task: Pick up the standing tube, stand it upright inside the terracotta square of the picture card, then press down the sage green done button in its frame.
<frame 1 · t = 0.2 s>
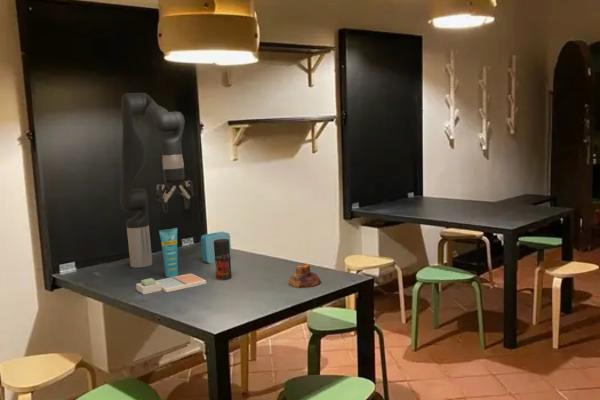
hand: (176, 210, 234), 29 cm above the table, tool pointing down, fingers open, 8 cm apart
picture card: (179, 283, 242), on the table
deodorant: (224, 278, 247), on the table
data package: (217, 261, 276), on the table
bell: (304, 284, 234), on the table
button frame: (149, 290, 235), on the table
tube: (172, 276, 254), on the table
done button: (148, 283, 235), point 3 cm above the table, slide at 0.0 cm
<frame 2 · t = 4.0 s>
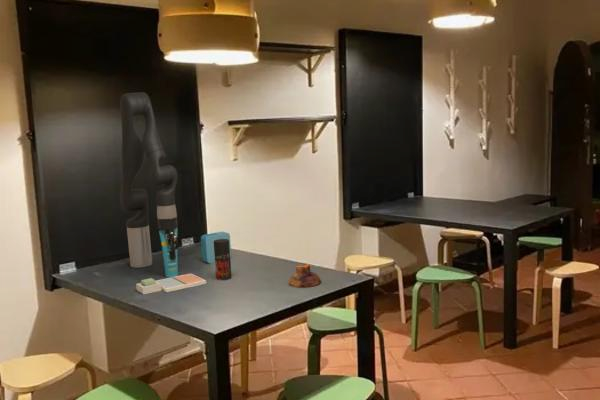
hand: (170, 258, 253), 7 cm above the table, tool pointing down, fingers closed on tube, 4 cm apart
tube: (172, 276, 254), on the table, touching gripper
everything else where it was.
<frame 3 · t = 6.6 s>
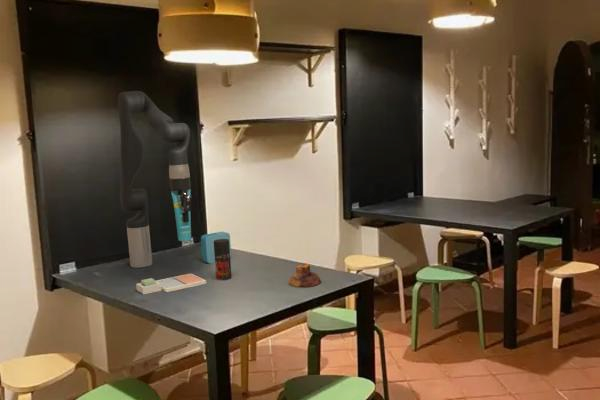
hand: (183, 221, 240), 24 cm above the table, tool pointing down, fingers closed on tube, 4 cm apart
tube: (185, 240, 241), point 16 cm above the table, touching gripper
everything else where it was.
when the fingers open (10 cm above the table, at t = 9.6 s): tube drops 1 cm, resting on picture card.
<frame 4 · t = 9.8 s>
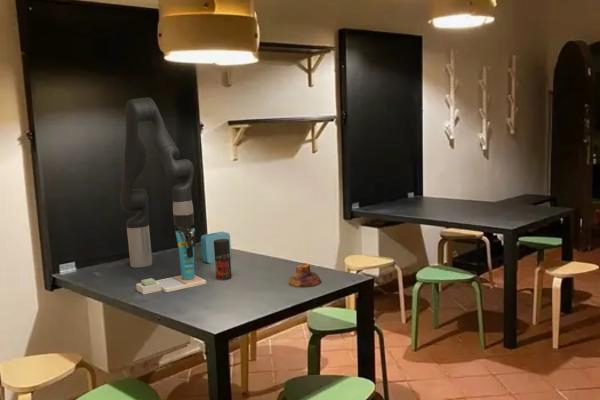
hand: (186, 255, 242), 10 cm above the table, tool pointing down, fingers open, 6 cm apart
tube: (188, 279, 244), point 1 cm above the table, touching picture card
everything else where it was.
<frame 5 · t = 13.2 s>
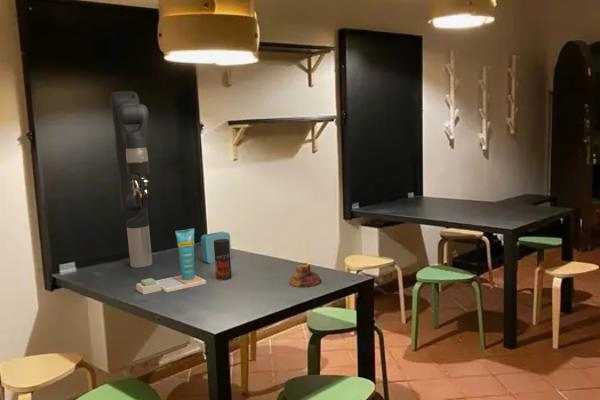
hand: (141, 206, 230), 31 cm above the table, tool pointing down, fingers open, 5 cm apart
nothing on the table moved.
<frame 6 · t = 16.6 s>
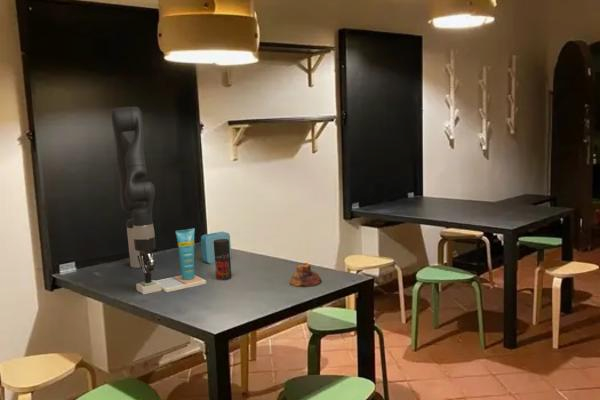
hand: (148, 282, 235), 3 cm above the table, tool pointing down, fingers closed
done button: (148, 285, 235), point 2 cm above the table, slide at 0.8 cm, touching gripper
everything else where it was.
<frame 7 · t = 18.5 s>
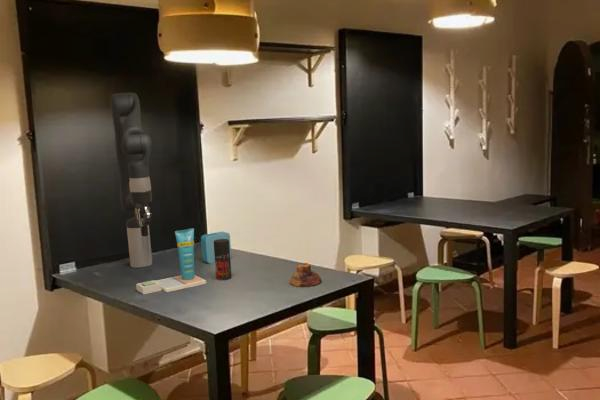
hand: (144, 235, 234), 20 cm above the table, tool pointing down, fingers closed
done button: (148, 286, 235), point 2 cm above the table, slide at 1.1 cm
everything else where it was.
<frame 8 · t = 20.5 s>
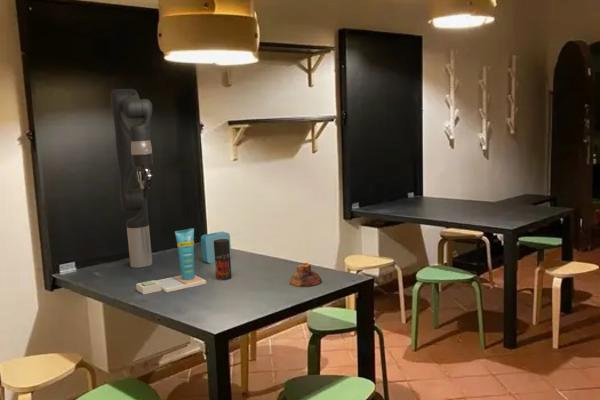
hand: (145, 198, 241), 33 cm above the table, tool pointing down, fingers closed
at the end: tube 0.0 cm from the target spot, point 1.1 cm above the table; tube tilted 0°; done button slide at 1.1 cm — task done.
